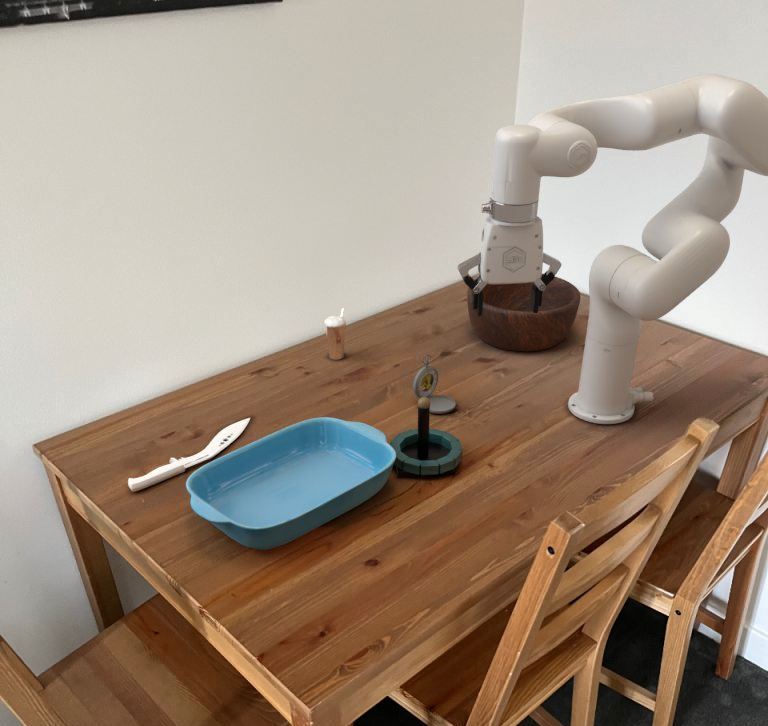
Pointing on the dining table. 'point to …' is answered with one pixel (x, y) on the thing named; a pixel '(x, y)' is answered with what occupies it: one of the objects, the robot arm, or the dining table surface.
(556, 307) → the wooden bowl
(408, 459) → the ring
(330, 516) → the casserole dish
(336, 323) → the milkshake
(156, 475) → the knife
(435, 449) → the stand
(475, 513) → the dining table surface
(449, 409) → the pocket watch
